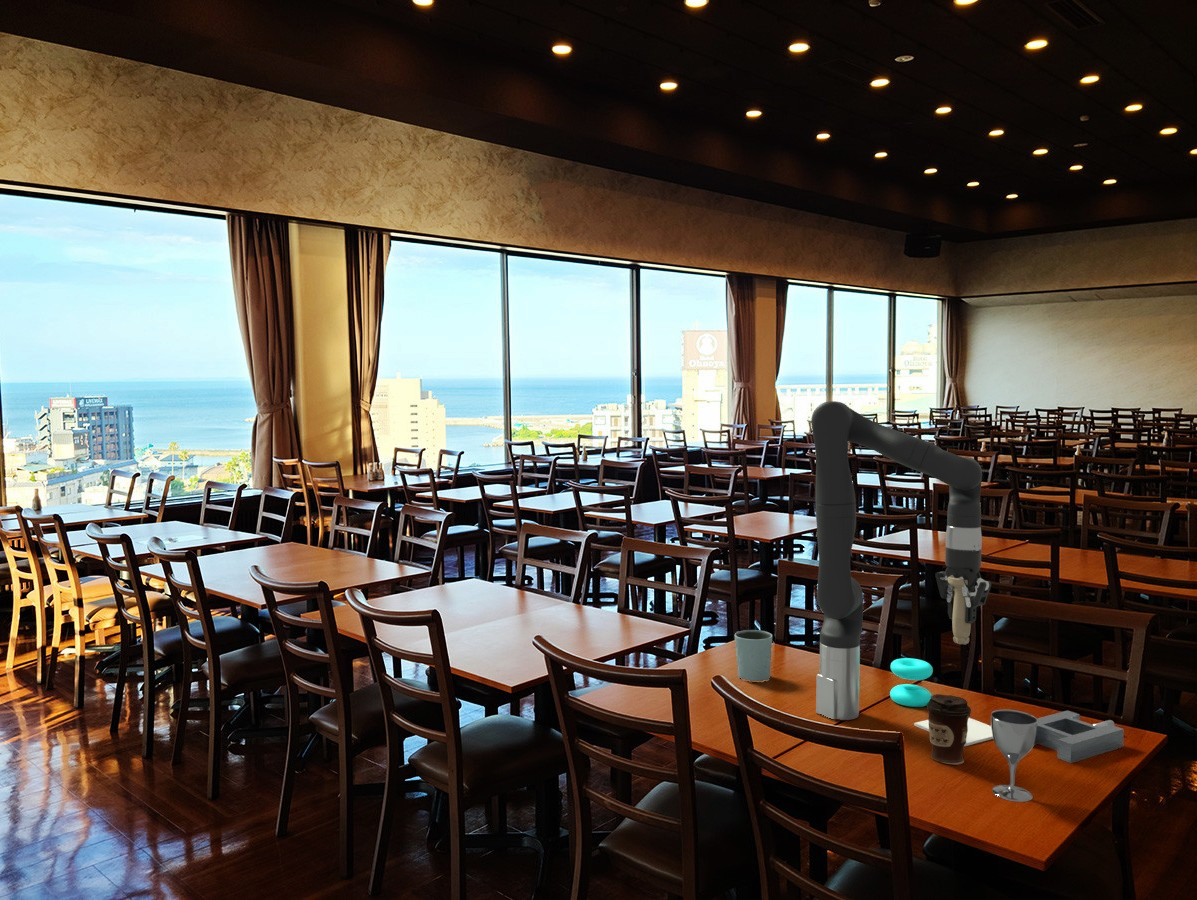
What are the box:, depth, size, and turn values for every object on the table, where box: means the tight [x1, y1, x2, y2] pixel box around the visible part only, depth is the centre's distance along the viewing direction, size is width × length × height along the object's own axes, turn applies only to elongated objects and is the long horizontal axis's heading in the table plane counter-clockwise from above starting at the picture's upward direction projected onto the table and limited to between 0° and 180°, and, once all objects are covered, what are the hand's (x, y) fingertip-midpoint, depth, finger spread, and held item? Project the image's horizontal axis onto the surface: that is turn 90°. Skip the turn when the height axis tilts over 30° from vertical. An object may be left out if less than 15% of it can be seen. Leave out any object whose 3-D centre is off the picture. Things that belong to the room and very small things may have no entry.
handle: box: [948, 577, 972, 645], centre depth 199 cm, size 5×6×15 cm
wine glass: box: [990, 708, 1037, 803], centre depth 167 cm, size 8×8×15 cm
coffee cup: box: [926, 693, 972, 766], centre depth 183 cm, size 9×8×13 cm
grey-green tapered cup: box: [734, 629, 773, 681], centre depth 238 cm, size 10×10×12 cm
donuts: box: [889, 657, 934, 708], centre depth 219 cm, size 10×10×10 cm
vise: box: [1034, 710, 1125, 764], centre depth 193 cm, size 24×13×4 cm, turn 118°
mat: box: [913, 717, 993, 747], centre depth 200 cm, size 14×14×1 cm
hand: (961, 620), depth 199 cm, fingers closed on handle, 4 cm apart
